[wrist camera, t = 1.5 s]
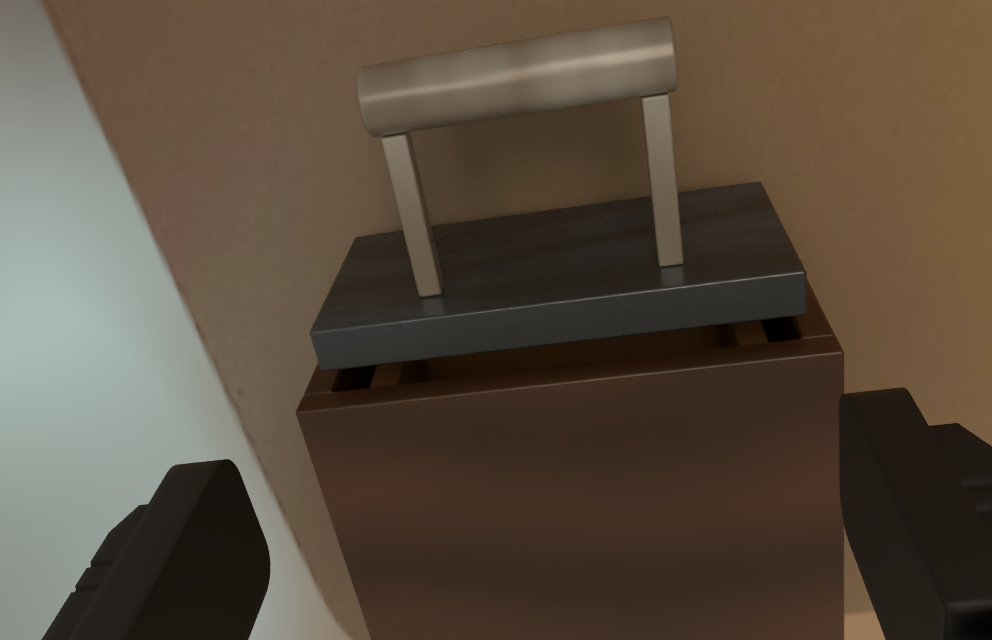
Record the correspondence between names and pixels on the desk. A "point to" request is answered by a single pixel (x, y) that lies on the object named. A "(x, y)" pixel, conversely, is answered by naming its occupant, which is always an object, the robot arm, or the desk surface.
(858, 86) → the desk surface
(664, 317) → the drawer
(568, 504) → the cabinet
